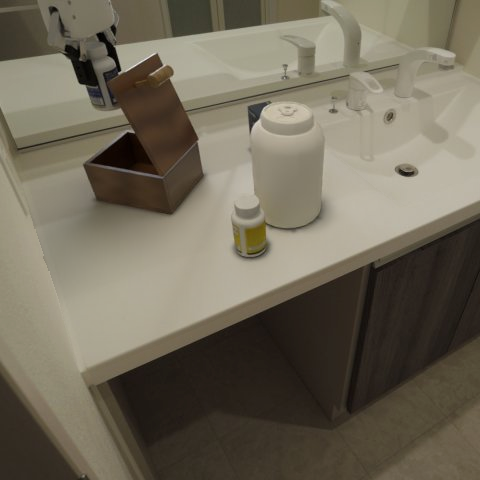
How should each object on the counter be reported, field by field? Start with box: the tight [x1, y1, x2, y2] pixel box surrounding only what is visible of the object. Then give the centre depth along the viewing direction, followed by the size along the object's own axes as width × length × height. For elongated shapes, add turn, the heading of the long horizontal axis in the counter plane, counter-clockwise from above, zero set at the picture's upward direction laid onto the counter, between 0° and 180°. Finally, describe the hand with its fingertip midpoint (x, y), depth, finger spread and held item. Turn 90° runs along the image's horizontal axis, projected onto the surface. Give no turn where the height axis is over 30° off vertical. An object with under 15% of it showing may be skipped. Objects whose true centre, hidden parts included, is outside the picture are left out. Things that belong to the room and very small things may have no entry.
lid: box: [107, 52, 200, 177], centre depth 71 cm, size 16×14×5 cm
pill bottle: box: [84, 41, 121, 112], centre depth 68 cm, size 5×5×10 cm
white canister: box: [249, 100, 326, 229], centre depth 73 cm, size 12×12×20 cm
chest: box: [82, 129, 204, 215], centre depth 80 cm, size 16×14×8 cm
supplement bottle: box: [230, 193, 268, 258], centre depth 68 cm, size 5×5×10 cm
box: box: [247, 100, 273, 136], centre depth 91 cm, size 8×6×11 cm
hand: (100, 76), depth 68 cm, fingers closed on pill bottle, 5 cm apart
